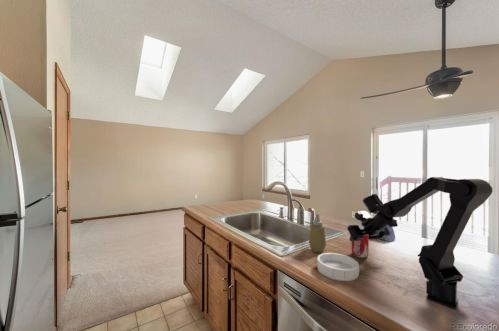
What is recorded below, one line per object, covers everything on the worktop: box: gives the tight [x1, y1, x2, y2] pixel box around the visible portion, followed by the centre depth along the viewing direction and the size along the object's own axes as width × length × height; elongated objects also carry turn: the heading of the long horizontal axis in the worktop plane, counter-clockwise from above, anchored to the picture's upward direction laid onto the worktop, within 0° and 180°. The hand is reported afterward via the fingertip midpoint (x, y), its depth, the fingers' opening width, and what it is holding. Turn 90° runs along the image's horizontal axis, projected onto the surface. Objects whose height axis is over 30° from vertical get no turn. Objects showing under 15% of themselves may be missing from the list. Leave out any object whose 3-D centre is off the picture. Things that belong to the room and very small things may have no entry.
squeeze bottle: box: [308, 213, 327, 253], centre depth 102 cm, size 8×8×18 cm
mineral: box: [378, 225, 396, 243], centre depth 122 cm, size 14×10×10 cm
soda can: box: [350, 227, 370, 259], centre depth 97 cm, size 7×7×12 cm
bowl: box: [316, 252, 360, 282], centre depth 82 cm, size 15×15×4 cm
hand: (358, 239), depth 98 cm, fingers open, 9 cm apart
